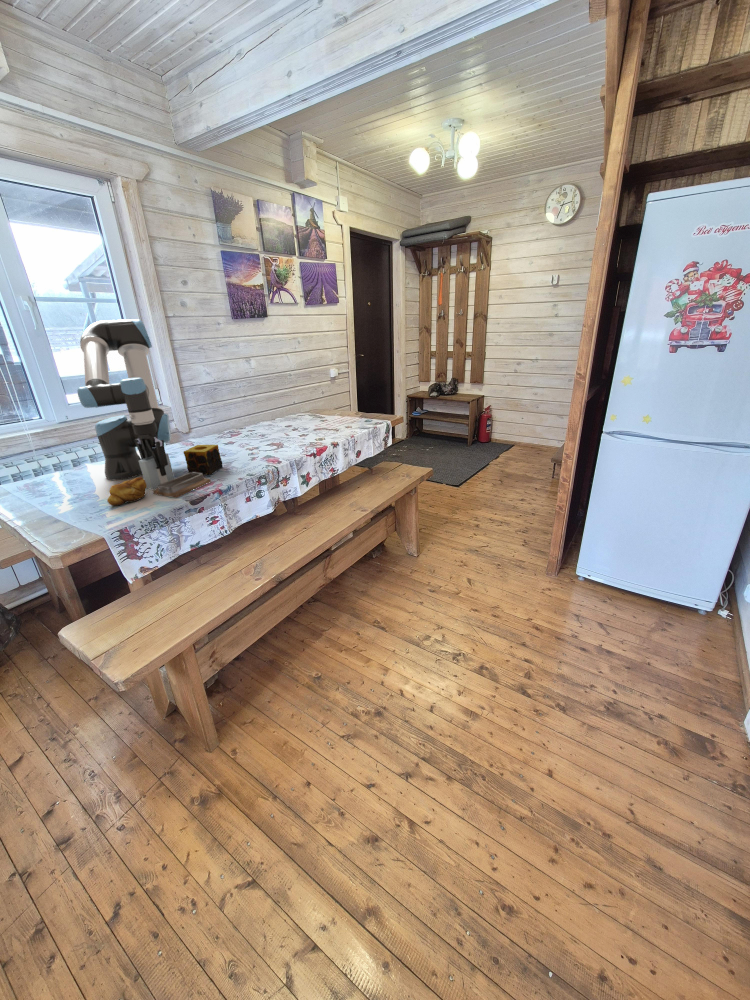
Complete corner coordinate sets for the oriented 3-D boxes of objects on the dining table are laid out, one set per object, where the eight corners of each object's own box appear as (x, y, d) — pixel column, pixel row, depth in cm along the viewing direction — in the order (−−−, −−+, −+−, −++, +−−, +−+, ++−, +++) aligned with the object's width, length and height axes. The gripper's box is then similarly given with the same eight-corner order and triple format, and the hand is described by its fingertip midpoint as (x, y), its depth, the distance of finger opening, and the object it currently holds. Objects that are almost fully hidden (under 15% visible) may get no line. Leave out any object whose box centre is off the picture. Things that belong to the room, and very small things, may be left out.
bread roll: (114, 510, 140) (106, 488, 136) (103, 503, 146) (96, 482, 142) (152, 497, 148) (146, 476, 145) (141, 491, 154) (135, 471, 151)
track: (153, 493, 151) (151, 485, 150) (188, 478, 164) (186, 470, 163) (176, 497, 146) (174, 489, 145) (211, 481, 159) (209, 474, 158)
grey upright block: (146, 488, 157) (138, 460, 153) (168, 479, 165) (161, 452, 161) (153, 489, 155) (145, 461, 151) (175, 480, 164) (168, 453, 159)
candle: (210, 475, 166) (204, 451, 162) (188, 475, 168) (182, 451, 164) (223, 467, 175) (218, 444, 171) (202, 467, 177) (197, 444, 173)
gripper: (119, 423, 151) (137, 483, 161) (149, 426, 144) (167, 488, 154) (137, 419, 157) (154, 477, 167) (168, 421, 150) (183, 481, 160)
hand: (160, 482), depth 160 cm, fingers closed on grey upright block, 3 cm apart
